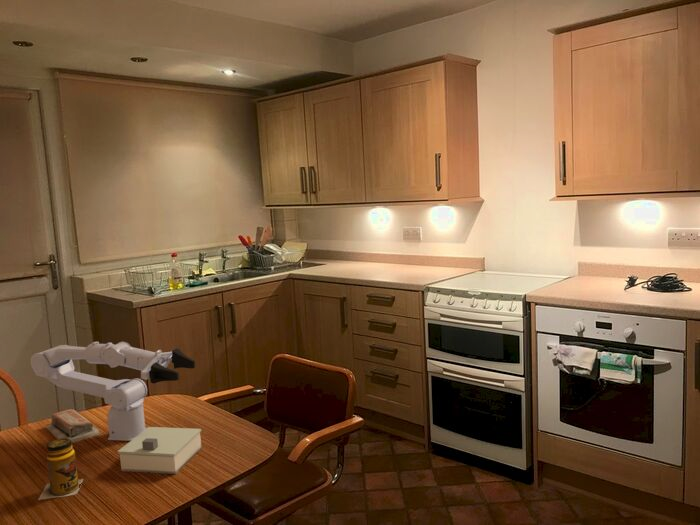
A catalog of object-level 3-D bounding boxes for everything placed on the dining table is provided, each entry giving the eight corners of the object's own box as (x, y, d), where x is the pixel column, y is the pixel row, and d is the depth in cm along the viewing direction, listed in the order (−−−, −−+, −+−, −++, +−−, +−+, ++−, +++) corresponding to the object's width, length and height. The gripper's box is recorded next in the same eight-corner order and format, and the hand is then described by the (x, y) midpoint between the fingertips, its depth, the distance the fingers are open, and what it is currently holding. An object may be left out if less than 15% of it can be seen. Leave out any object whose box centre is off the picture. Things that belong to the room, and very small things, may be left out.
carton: (121, 471, 146) (119, 454, 145) (151, 445, 159) (149, 430, 159) (175, 474, 143) (174, 456, 142) (201, 448, 156) (200, 432, 156)
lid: (117, 453, 145) (116, 443, 144) (149, 428, 159) (148, 419, 159) (174, 456, 142) (173, 445, 141) (201, 430, 156) (200, 421, 155)
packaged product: (43, 414, 175) (77, 404, 182) (45, 429, 176) (79, 419, 183) (63, 430, 162) (99, 419, 169) (65, 447, 163) (101, 435, 170)
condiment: (77, 494, 135) (70, 446, 134) (37, 501, 134) (31, 452, 132) (83, 479, 143) (78, 433, 141) (46, 485, 141) (40, 438, 139)
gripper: (126, 358, 154) (169, 368, 150) (160, 337, 167) (200, 346, 163) (127, 381, 156) (170, 392, 152) (161, 359, 169) (201, 369, 165)
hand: (186, 370), depth 158 cm, fingers open, 7 cm apart
